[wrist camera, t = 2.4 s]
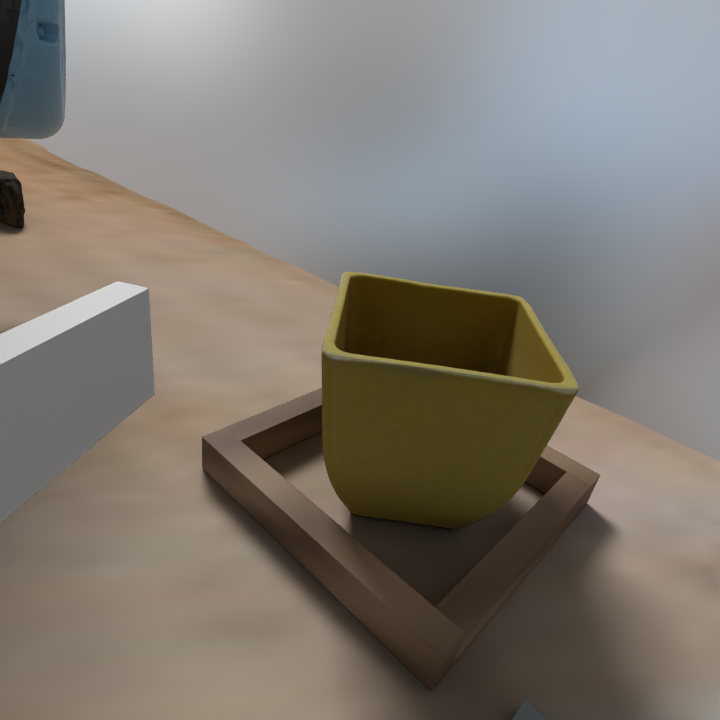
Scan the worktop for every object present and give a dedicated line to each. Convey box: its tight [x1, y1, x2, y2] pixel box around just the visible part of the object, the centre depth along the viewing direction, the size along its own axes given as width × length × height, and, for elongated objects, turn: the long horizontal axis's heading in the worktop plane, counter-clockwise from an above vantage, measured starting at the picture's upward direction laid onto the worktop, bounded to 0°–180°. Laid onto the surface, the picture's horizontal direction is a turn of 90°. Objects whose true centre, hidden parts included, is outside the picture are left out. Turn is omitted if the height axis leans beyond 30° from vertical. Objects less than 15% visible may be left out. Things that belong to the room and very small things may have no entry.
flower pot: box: [322, 272, 579, 528], centre depth 23 cm, size 9×9×9 cm
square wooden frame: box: [202, 388, 600, 691], centre depth 24 cm, size 13×13×2 cm
